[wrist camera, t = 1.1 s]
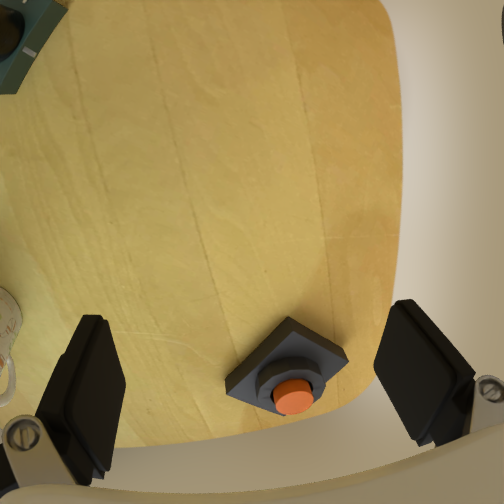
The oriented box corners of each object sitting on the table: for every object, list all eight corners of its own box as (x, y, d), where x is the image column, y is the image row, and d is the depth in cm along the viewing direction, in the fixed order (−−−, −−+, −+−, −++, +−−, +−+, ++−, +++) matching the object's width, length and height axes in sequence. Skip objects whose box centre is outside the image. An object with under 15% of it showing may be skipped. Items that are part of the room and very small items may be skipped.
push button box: (287, 316, 29) (297, 343, 26) (342, 348, 32) (355, 373, 29) (224, 379, 32) (226, 408, 28) (280, 402, 35) (287, 428, 31)
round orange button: (290, 373, 28) (294, 386, 26) (316, 384, 29) (321, 397, 27) (264, 395, 29) (267, 408, 27) (292, 405, 30) (295, 418, 28)
